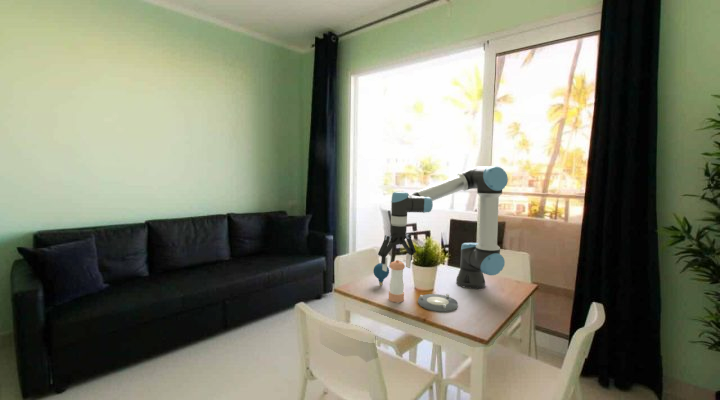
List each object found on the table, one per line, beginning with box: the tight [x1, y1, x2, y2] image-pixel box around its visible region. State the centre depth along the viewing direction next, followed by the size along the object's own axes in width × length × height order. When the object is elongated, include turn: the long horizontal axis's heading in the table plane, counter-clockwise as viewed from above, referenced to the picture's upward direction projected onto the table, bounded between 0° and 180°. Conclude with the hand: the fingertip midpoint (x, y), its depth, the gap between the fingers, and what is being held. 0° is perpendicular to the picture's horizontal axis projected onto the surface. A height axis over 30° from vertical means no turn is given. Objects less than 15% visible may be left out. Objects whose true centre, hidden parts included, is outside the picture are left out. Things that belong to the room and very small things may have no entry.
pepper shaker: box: [388, 259, 406, 303], centre depth 157 cm, size 7×7×19 cm
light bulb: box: [373, 262, 390, 286], centre depth 176 cm, size 8×8×12 cm
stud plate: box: [417, 293, 459, 313], centre depth 154 cm, size 18×18×3 cm
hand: (396, 269), depth 156 cm, fingers open, 13 cm apart
